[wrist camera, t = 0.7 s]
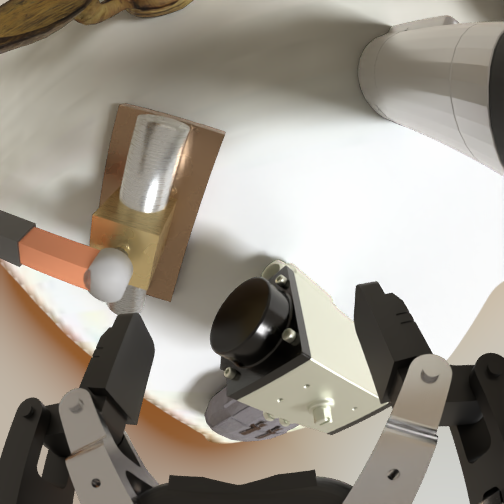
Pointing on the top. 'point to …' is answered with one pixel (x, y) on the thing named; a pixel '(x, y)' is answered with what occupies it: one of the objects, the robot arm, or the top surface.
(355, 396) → the ball valve
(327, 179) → the top surface
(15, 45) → the wooden mug
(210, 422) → the small grey backpack
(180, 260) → the stand
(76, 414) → the robot arm
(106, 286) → the valve lever
